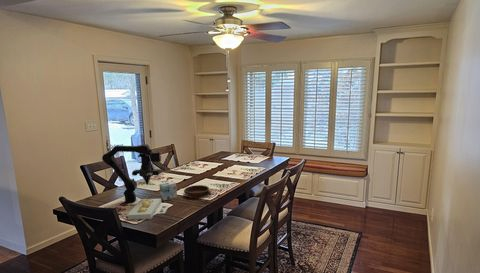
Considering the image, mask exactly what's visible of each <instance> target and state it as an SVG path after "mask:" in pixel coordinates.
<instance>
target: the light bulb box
mask: <svg viewBox="0 0 480 273" xmlns="http://www.w3.org/2000/svg"><path fill="white" fill-rule="evenodd" d="M177 191H178V188H177V182H175V181H174V180H170V181H166V182H162V183H159V196H160V198H161V200H163V201H167V200H171V199H175V198H177V197H178V192H177ZM160 198H159V199H160Z"/></svg>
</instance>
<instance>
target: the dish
mask: <svg viewBox="0 0 480 273" xmlns="http://www.w3.org/2000/svg"><path fill="white" fill-rule="evenodd" d="M209 190H210V187H209V186H207V185H203V184H202V185H200V184H198V185H197V184H196V185H190V186H187V187H185V188H184V190H183V192H184V194H185V195H186V196H187V198H191V199H192V198H193V199H197V198H203V197H204V196H211V193H212V192H211V191H209Z"/></svg>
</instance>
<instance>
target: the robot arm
mask: <svg viewBox="0 0 480 273" xmlns="http://www.w3.org/2000/svg"><path fill="white" fill-rule="evenodd" d="M118 152H119V153H121V152H122V153H123V152H124V153H130V152H131V153H137V154H138V155H137V157H138V158H140V160H141V161H140V163H141V165H140V168H139V169H134V170H132V172H131V176H137V175H139V176H140V177H142V178H143V180H144V182H145V184H146V185H149V183H150V179H151V177H152V176H160V174H162V171H161V169H160V168H159V169H158V168H157V169H154V170H152V168H151V164H152V163H161V161H162V155H161V153H160V152H159V151H157V152H154V151H152V149H151V148H150V145H149V144H147V143H146V144H145V143H144V144H139V145H118V144H117V145H114V147H113V148H112V149H111V150H109V151H107V152H106V153H105V154H103V155H102V157H101V160H102V161H103V162H104V163H105V164H106V165H108V166H109V167H111V169H113V171H114V172H115V174H116V175H117V176H118V177H119V178H120V180H121V181H122V182H123V183H124V184H123V185H124V187H125V190H124V192H123V195H124V204H133V203H135V202H136V201H137V195H136V193H135V190H136V189H137V188H138V182H137V181H136V180H135V179H134V178H130V177H129V176H128V175H127V173H126V172H125V171H124V170H123V168H122V167H121V166H120V164H118V162H117V159H116V157H115V156H116V154H117V153H118ZM151 162H152V163H151Z"/></svg>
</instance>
